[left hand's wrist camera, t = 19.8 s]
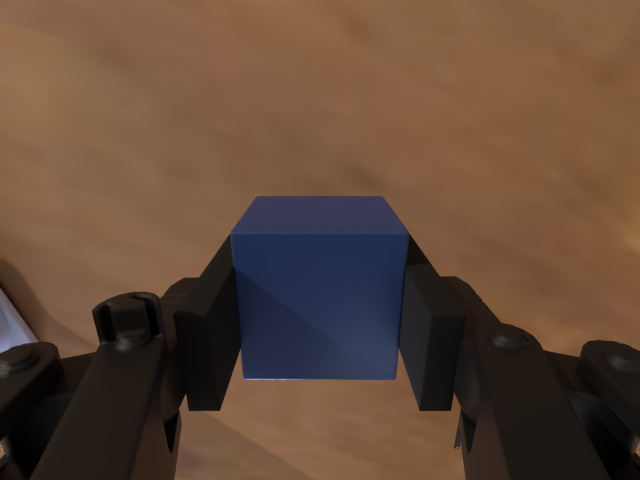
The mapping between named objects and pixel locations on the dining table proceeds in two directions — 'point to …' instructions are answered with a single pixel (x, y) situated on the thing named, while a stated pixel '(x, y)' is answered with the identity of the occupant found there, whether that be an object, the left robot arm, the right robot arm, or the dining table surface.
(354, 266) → the block
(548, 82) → the dining table surface
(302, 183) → the dining table surface
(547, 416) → the left robot arm
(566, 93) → the dining table surface
